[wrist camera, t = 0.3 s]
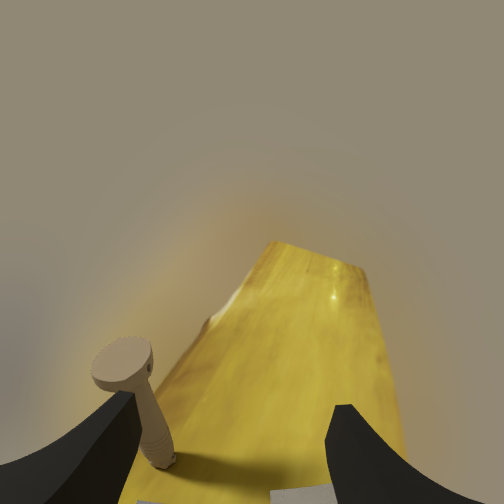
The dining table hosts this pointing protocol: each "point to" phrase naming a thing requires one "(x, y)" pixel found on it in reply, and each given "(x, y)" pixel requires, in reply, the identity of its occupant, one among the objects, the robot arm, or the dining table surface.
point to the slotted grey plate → (144, 503)
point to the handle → (136, 393)
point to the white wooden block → (305, 495)
